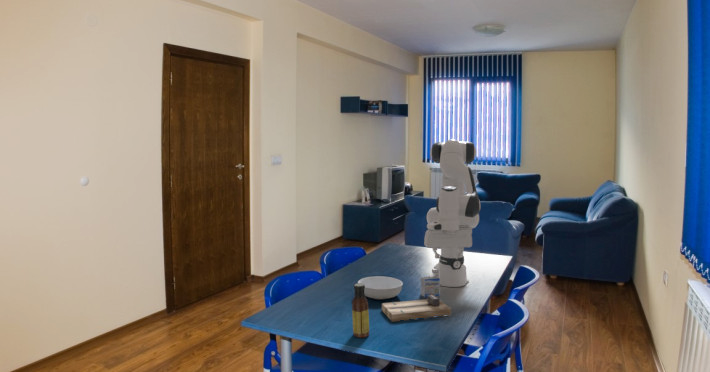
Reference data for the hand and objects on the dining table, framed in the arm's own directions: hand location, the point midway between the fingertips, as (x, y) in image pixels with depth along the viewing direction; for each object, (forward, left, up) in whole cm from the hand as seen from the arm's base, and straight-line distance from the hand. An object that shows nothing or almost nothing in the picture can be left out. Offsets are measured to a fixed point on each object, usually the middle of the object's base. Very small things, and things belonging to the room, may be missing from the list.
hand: (448, 258), depth 218 cm
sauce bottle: (+13, -42, -24) cm, 50 cm away
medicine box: (-24, +2, -24) cm, 34 cm away
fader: (-4, -5, -21) cm, 21 cm away
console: (-4, -13, -24) cm, 27 cm away
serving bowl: (-29, -21, -24) cm, 43 cm away
